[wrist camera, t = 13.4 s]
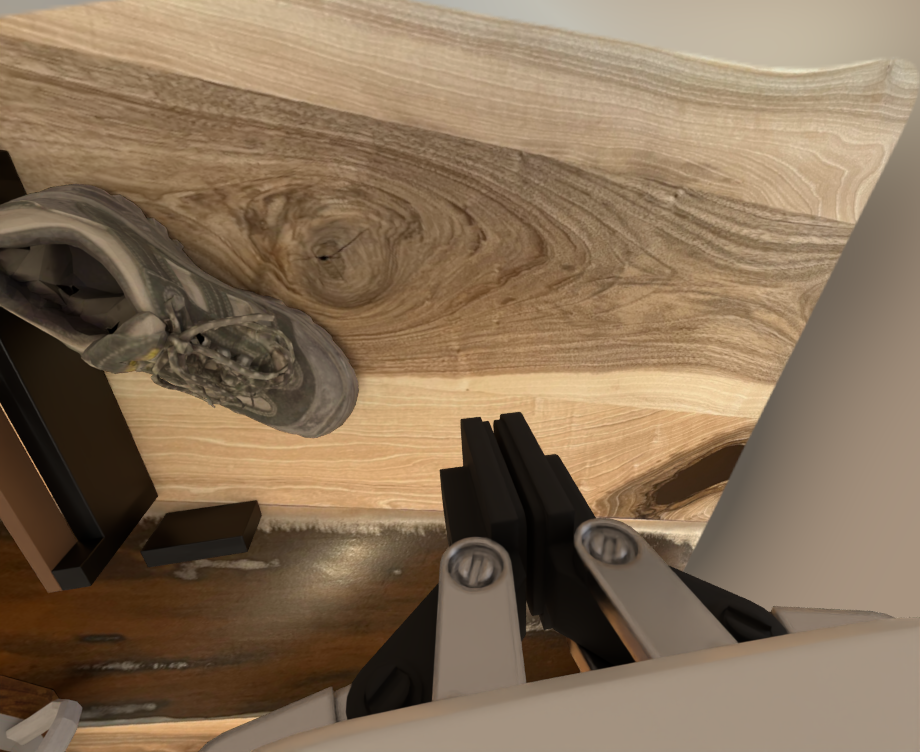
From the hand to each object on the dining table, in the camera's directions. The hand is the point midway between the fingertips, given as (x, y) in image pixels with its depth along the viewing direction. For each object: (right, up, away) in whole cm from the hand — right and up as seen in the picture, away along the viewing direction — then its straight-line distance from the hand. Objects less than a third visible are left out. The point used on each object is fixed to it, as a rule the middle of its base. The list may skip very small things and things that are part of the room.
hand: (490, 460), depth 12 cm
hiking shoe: (-17, +6, +17) cm, 25 cm away
